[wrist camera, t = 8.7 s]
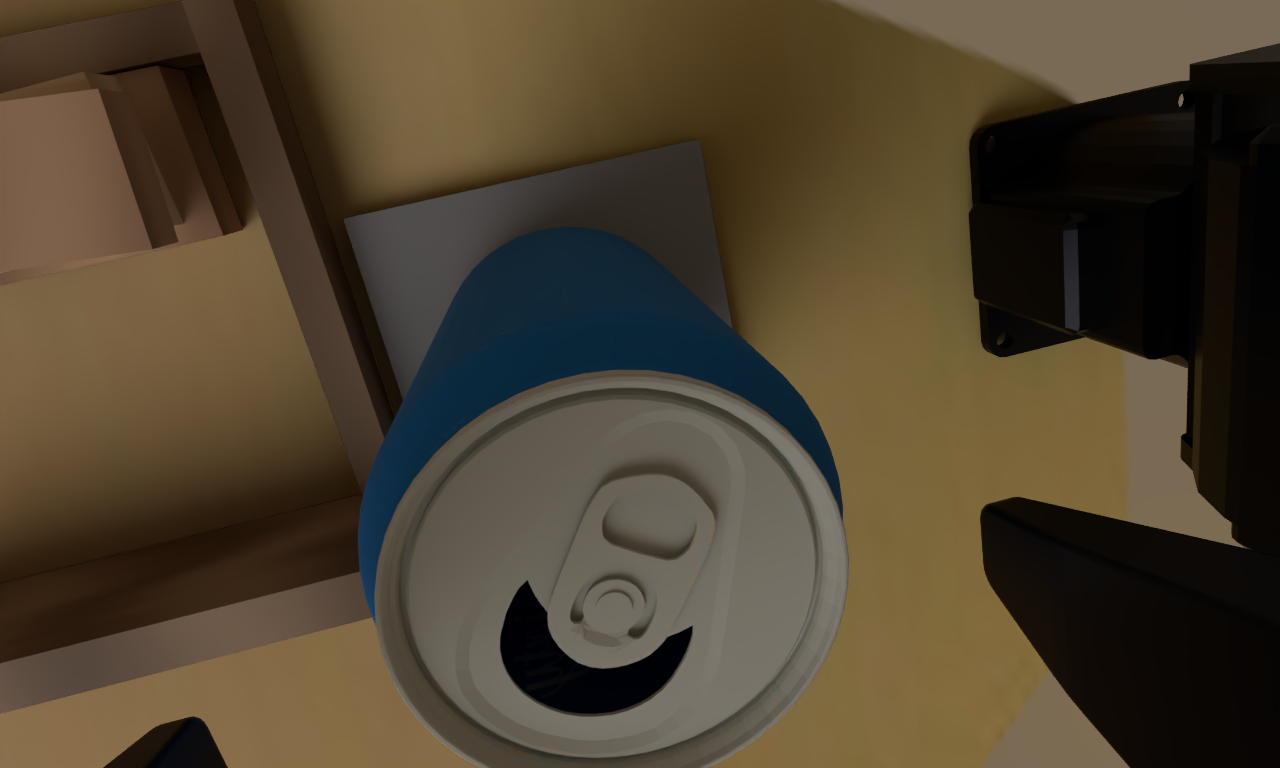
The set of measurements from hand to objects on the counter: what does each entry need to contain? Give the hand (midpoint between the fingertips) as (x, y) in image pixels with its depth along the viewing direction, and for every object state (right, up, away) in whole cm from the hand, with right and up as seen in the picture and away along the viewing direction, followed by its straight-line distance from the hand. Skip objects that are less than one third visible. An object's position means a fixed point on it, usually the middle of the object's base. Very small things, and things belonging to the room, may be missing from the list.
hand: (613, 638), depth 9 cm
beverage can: (-2, +4, +12) cm, 13 cm away
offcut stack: (-15, +7, +9) cm, 19 cm away
